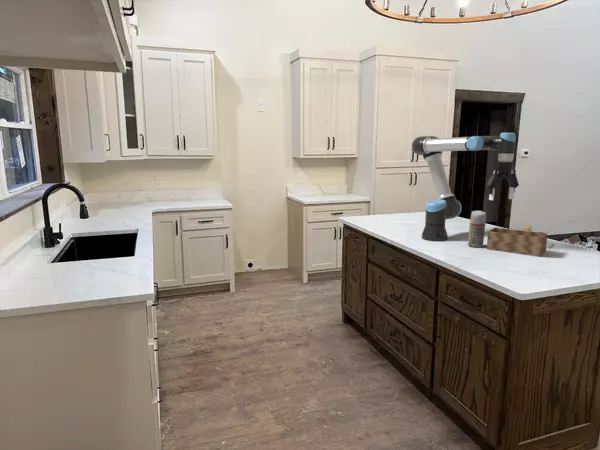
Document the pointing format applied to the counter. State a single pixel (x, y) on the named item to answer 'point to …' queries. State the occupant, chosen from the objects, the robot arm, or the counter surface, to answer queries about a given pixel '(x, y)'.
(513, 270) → the counter surface
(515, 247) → the wooden box
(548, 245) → the lid
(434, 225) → the robot arm
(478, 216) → the spray can
